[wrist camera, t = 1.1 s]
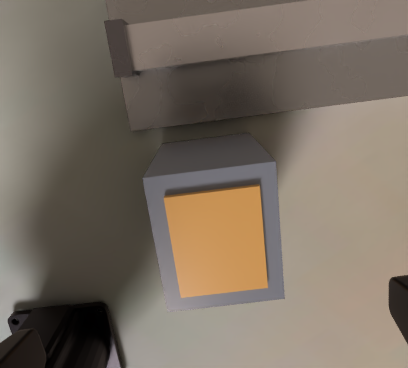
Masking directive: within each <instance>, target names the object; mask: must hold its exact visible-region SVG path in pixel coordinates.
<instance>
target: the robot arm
mask: <svg viewBox="0 0 408 368" xmlns="http://www.w3.org/2000/svg"><path fill="white" fill-rule="evenodd" d="M97 309H100V310H102V311H98V310H97ZM389 310H390V313H391V315H392V317H393V319H394V321H395V322H396V324H397V326H398V328H399V330H400V331H401V333H402V335H403V337H404V338H405V340H406V342H407V344H408V275H404V276H397V277H392V278H391V279H390V281H389ZM16 319H18V320H19V321H17V320H16ZM8 324H9V327H10V330H11V333H12V335H11V336H9V337H8V338H7V339H5V340H4V341H2V342H1V343H0V368H123V366H122V362H121V358H120V354H119V350H118V346H117V342H116V338H115V334H114V330H113V326H112V322H111V318H110V314H109V310H108V307H107V305H106V304H105V303H103V302H93V303H85V304H76V305H61V306H52V307H44V308H35V309H33V310H25V311H17V312H14V313H12V314H11V316H10V317H9V318H8Z"/></svg>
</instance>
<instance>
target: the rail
mask: <svg viewBox="0 0 408 368" xmlns="http://www.w3.org/2000/svg"><path fill="white" fill-rule="evenodd" d="M106 5H107V10H108V15H109V20H108V21H104V23H105V28H106V33H107V38H108V43H109V48H110V54H111V59H112V64H113V69H114V74H115V77H120V78H121V84H122V89H123V94H124V99H125V105H126V110H127V115H128V120H129V126H130V131H138V130H145V129H153V128H161V127H169V126H176V125H184V124H192V123H200V122H208V121H215V120H223V119H231V118H239V117H246V116H254V115H262V114H270V113H278V112H285V111H293V110H301V109H309V108H316V107H324V106H332V105H340V104H348V103H355V102H363V101H371V100H379V99H386V98H394V97H402V96H408V0H106Z"/></svg>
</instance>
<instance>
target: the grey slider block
mask: <svg viewBox="0 0 408 368" xmlns="http://www.w3.org/2000/svg"><path fill="white" fill-rule="evenodd" d="M142 179H143V184H144V190H145V195H146V200H147V206H148V211H149V216H150V222H151V227H152V232H153V237H154V243H155V248H156V253H157V259H158V264H159V269H160V275H161V280H162V285H163V291H164V296H165V301H166V307H167V312H174V311H182V310H191V309H199V308H208V307H217V306H225V305H234V304H243V303H251V302H260V301H269V300H277V299H285V297H284V281H283V265H282V250H281V234H280V218H279V202H278V187H277V171H276V161H275V160H274V159H273V158H272V157H271V156H270V155H269V153H268V152H267V151H266V150H265V149H264V148H263V147H262V146H261V145H260V144H259V143H258V142H257V141H256V140H255V139H254V138H253V136H252V135H251V134H250V133H243V134H235V135H227V136H219V137H211V138H204V139H196V140H188V141H180V142H172V143H164V144H162V145H161V146H160V148H159V150H158V152H157V153H156V155H155V157H154V159H153V160H152V162H151V164H150V166H149V167H148V169H147V171H146V173H145V174H144V176H143V178H142Z"/></svg>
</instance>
